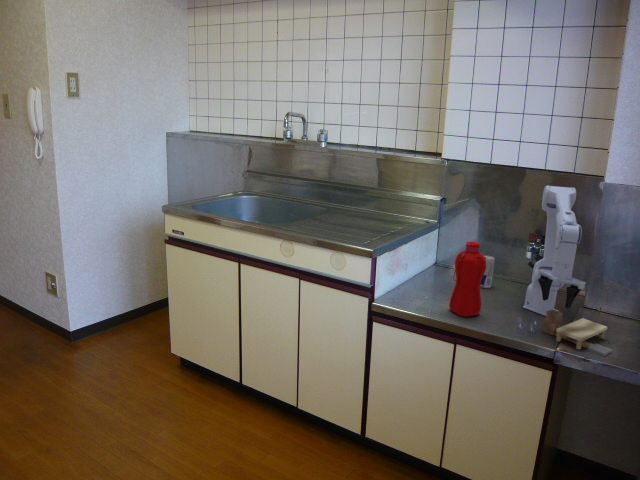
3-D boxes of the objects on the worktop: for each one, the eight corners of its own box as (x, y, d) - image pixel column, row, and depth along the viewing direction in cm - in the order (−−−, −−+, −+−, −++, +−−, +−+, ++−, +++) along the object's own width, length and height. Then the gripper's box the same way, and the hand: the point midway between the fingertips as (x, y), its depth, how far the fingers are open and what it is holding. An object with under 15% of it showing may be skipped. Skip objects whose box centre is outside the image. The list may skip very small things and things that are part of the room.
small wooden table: (554, 340, 170) (556, 328, 169) (580, 329, 179) (582, 318, 178) (579, 350, 164) (581, 338, 162) (605, 338, 173) (607, 326, 172)
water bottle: (441, 309, 190) (449, 240, 183) (466, 305, 194) (475, 238, 188) (457, 319, 182) (466, 247, 175) (483, 315, 186) (493, 245, 180)
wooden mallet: (543, 331, 176) (546, 311, 174) (549, 329, 178) (552, 309, 176) (588, 349, 165) (592, 328, 163) (593, 346, 167) (598, 325, 165)
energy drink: (476, 283, 219) (479, 254, 216) (489, 284, 218) (493, 255, 215) (477, 287, 214) (481, 258, 211) (491, 289, 213) (496, 259, 210)
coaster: (587, 351, 165) (587, 347, 164) (595, 347, 168) (596, 343, 167) (603, 358, 161) (604, 353, 160) (611, 353, 164) (612, 349, 163)
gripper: (535, 258, 173) (528, 298, 176) (579, 271, 162) (571, 313, 165) (547, 255, 177) (540, 294, 180) (591, 267, 166) (583, 309, 169)
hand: (556, 303), depth 173 cm, fingers open, 7 cm apart
